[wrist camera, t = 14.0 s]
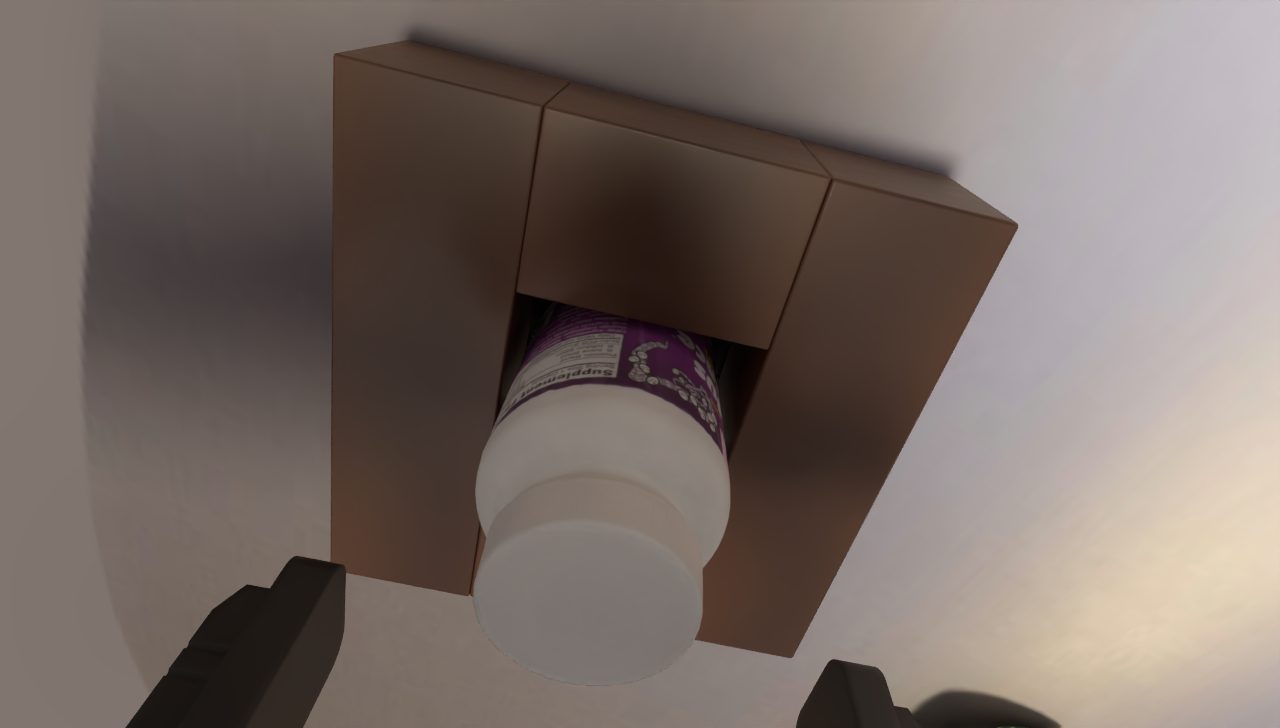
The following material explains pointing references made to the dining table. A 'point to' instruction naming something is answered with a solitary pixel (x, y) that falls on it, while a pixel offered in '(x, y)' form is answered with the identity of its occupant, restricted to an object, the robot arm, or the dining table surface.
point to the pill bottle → (602, 499)
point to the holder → (628, 308)
